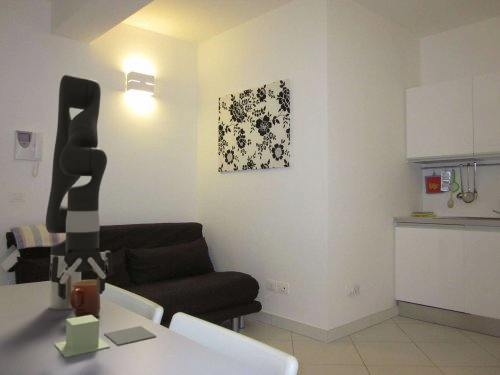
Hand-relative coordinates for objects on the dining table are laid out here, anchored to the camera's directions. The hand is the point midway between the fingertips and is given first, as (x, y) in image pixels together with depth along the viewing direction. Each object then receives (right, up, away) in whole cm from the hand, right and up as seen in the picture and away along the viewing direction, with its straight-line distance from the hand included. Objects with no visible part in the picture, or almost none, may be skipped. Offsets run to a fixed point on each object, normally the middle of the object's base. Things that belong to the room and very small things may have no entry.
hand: (81, 296), depth 99 cm
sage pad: (0, -12, 0) cm, 12 cm away
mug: (-8, -13, +22) cm, 27 cm away
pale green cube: (0, -12, 0) cm, 12 cm away
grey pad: (+10, -12, +7) cm, 17 cm away
